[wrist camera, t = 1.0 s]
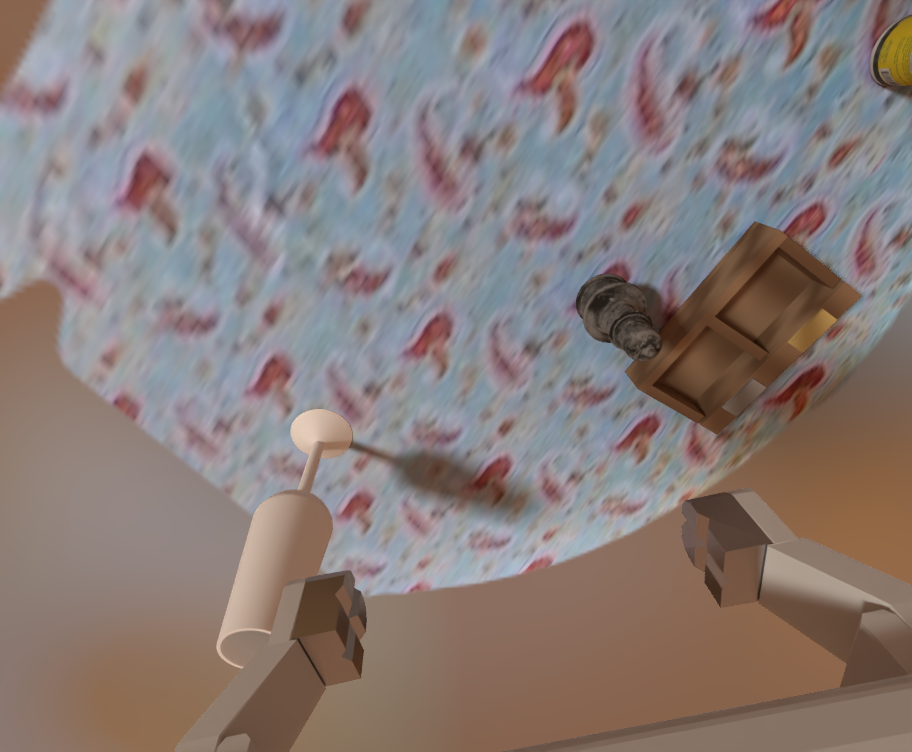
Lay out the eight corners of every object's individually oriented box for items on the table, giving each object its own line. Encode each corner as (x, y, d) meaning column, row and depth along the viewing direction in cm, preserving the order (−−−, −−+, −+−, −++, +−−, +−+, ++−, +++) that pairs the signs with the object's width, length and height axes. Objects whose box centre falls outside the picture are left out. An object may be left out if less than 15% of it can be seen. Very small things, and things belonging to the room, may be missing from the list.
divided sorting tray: (754, 221, 44) (782, 231, 40) (832, 283, 47) (864, 296, 44) (624, 371, 51) (638, 390, 47) (700, 415, 54) (718, 436, 51)
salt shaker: (626, 327, 48) (682, 388, 38) (569, 328, 48) (609, 389, 38) (638, 270, 46) (701, 319, 35) (577, 270, 45) (622, 320, 35)
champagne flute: (281, 444, 53) (187, 664, 32) (304, 399, 50) (218, 606, 30) (338, 466, 55) (284, 687, 34) (362, 424, 52) (321, 635, 32)
